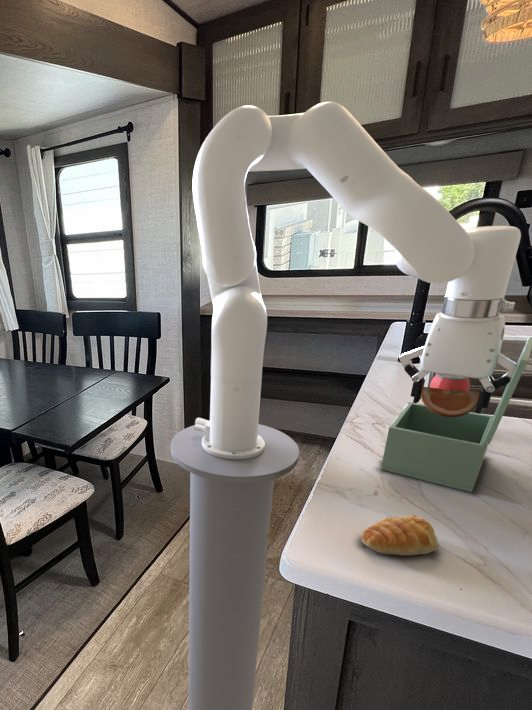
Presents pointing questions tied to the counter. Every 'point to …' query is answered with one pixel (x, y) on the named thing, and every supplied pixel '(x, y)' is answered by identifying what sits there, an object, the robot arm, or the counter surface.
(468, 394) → the fruit slice
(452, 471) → the bin
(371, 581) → the counter surface
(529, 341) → the bin lid
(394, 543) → the pastry
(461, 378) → the beer can
